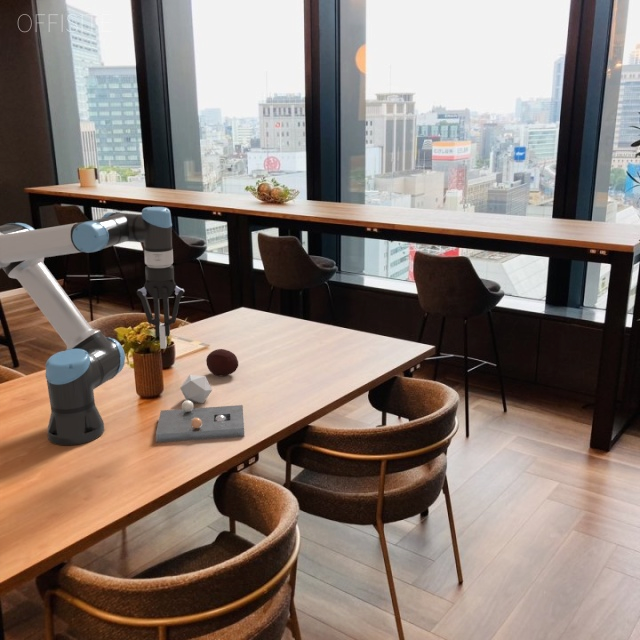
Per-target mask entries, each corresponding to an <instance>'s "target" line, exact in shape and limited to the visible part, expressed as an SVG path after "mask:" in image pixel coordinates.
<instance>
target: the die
mask: <svg viewBox="0 0 640 640" xmlns="http://www.w3.org/2000/svg"><path fill="white" fill-rule="evenodd" d="M179 389H180V391H181V393H182V395H183V397H184V398H185V401H186V400H189V401H191V402H192V403H193V404H204V403H205V401H206V400H207V398H208V397H209V396H210V395H211V393H212V392H213V389H212V386H211V385H210V383H209V381H208V378H207V377H206V375H196V374H189V375H188V377H187V378H186V379H185V381H184V382H183V383H182V384H181V386H180V388H179Z"/></svg>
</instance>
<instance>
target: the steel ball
mask: <svg viewBox="0 0 640 640" xmlns="http://www.w3.org/2000/svg"><path fill="white" fill-rule="evenodd" d="M215 421H227V419H226V417H225V416H224V415H218V416H217V417H216V418H215Z"/></svg>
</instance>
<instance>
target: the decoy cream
mask: <svg viewBox="0 0 640 640" xmlns="http://www.w3.org/2000/svg"><path fill="white" fill-rule="evenodd" d="M193 408H194V403H192V402H191V401H189V400H186V399H185V400H184V401H183V402H182V404H181V409H183V410H184V411H185V412H190V411H191V410H192V409H193Z"/></svg>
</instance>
